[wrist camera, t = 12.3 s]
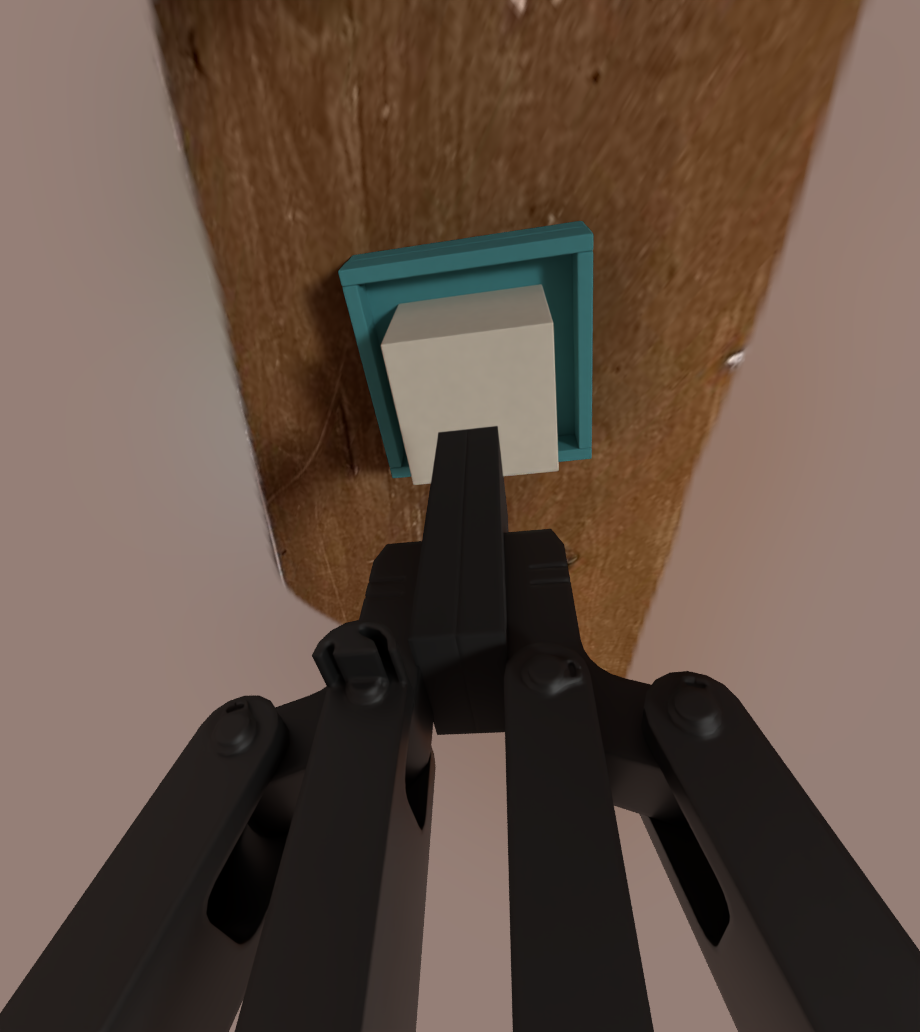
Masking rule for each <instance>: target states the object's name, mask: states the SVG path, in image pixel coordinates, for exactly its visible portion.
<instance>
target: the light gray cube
mask: <svg viewBox="0 0 920 1032" xmlns="http://www.w3.org/2000/svg"><path fill="white" fill-rule="evenodd" d="M381 349H382V354H383V358H384V362H385V366H386V371H387V375H388V379H389V383H390V387H391V392H392V396H393V400H394V404H395V409H396V413H397V417H398V421H399V425H400V430H401V434H402V438H403V442H404V447H405V451H406V455H407V459H408V463H409V468H410V472H411V476H412V480H413V484H414V485H418V484H428V483H431V479H432V472H433V465H434V459H435V452H436V445H437V438H438V432H446V431H455V430H464V429H474V428H483V427H492V426H498V433H499V442H500V451H501V460H502V469H503V476H511V475H522V474H532V473H542V472H553V471H558V470H559V467H558V438H557V410H556V382H555V354H554V326H553V321H552V317H551V314H550V311H549V307H548V304H547V301H546V297H545V294H544V290H543V287H542V285H541V284H539V285H532V286H525V287H518V288H510V289H503V290H496V291H489V292H481V293H474V294H467V295H460V296H452V297H445V298H438V299H431V300H423V301H416V302H409V303H402V304H398V306H397V309H396V311H395V313H394V316H393V318H392V320H391V323H390V325H389V327H388V329H387V332H386V334H385V336H384V339H383V341H382V343H381Z"/></svg>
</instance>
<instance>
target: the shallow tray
mask: <svg viewBox="0 0 920 1032" xmlns="http://www.w3.org/2000/svg"><path fill="white" fill-rule="evenodd" d="M592 250H593V233H592V232H591V230H590V229H589V228H588V227H587V226H586V225H585V224H584V223H583V221H577V222H570V223H564V224H557V225H550V226H544V227H537V228H530V229H524V230H517V231H511V232H504V233H497V234H491V235H484V236H478V237H471V238H464V239H458V240H451V241H445V242H438V243H431V244H425V245H418V246H412V247H405V248H398V249H392V250H385V251H378V252H372V253H365V254H359V255H353V256H352V257H351V258H350V259H349V260H348V261H347V262H346V263H345V264H344V265H343V266H342V267H341V268H340V270H339V271H338V274H339V278H340V281H341V285H342V286H343V292H344V296H345V300H346V304H347V308H348V311H349V315H350V319H351V323H352V326H353V330H354V334H355V338H356V342H357V345H358V349H359V353H360V357H361V361H362V364H363V368H364V372H365V376H366V379H367V383H368V387H369V391H370V395H371V398H372V402H373V406H374V410H375V413H376V417H377V421H378V425H379V429H380V432H381V436H382V440H383V444H384V448H385V451H386V455H387V459H388V463H389V466H390V470H391V474H392V477H393V478H400V477H410V476H411V472H410V468H409V463H408V459H407V455H406V451H405V447H404V442H403V438H402V434H401V430H400V425H399V421H398V417H397V413H396V409H395V404H394V400H393V396H392V392H391V387H390V383H389V379H388V375H387V371H386V366H385V362H384V358H383V354H382V349H381V343H382V341H383V339H384V336H385V334H386V332H387V329H388V327H389V325H390V323H391V320H392V318H393V316H394V313H395V311H396V309H397V306H398V304H402V303H409V302H416V301H423V300H431V299H438V298H445V297H452V296H460V295H467V294H474V293H481V292H489V291H496V290H503V289H510V288H518V287H525V286H532V285H539V284H541V285H542V287H543V290H544V294H545V297H546V301H547V304H548V307H549V311H550V314H551V317H552V321H553V326H554V354H555V382H556V410H557V438H558V462H562V461H572V460H582V459H591V457H592V448H591V446H592V331H593V251H592Z"/></svg>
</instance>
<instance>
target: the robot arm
mask: <svg viewBox="0 0 920 1032" xmlns="http://www.w3.org/2000/svg"><path fill="white" fill-rule="evenodd" d="M365 596H366V599H364V602H363V606H362V610H361V614H360V618H359V620H357V621H352V622H348V623H345V624H343V625H341V626H339V627H337V628H336V629H333V630H332V631H330V632H329V633H328V634H327V635H326V636H325V637H324V638H323V639H322V640H321V641H320V642H319V643H318V645H317V647H316V649H315V651H314V653H313V654H312V657H313V659H314V661H315V663H316V665H317V667H318V669H319V671H320V673H321V675H322V677H323V679H324V681H325V683H326V685H327V686H326V687H325V688H324V689H322V690H321V691H318V692H316V693H314V694H312V695H310V696H307V697H304V698H301V699H298V700H296V701H293V702H290V703H287V704H284V705H282V706H279V707H276V708H275V707H274V705H273V704H272V702H271V701H270V700H268V699H265V698H263V697H261V696H243V697H240V698H237V699H234V700H231V701H229V702H227V703H225V704H224V705H222V706H221V707H219V708H218V709H217V710H215V711H214V712H213V713H212V714H211V715H210V716H209V717H208V718H207V719H206V720H205V721H204V722H203V724H202V725H201V726H200V727H199V729H198V730H197V732H196V734H195V735H194V736H193V738H192V739H191V740H190V742H189V743H188V745H187V746H186V748H185V749H184V750H183V752H182V753H181V755H180V756H179V758H178V759H177V760H176V762H175V763H174V765H173V766H172V768H171V769H170V770H169V772H168V773H167V775H166V776H165V778H164V779H163V780H162V782H161V783H160V785H159V786H158V788H157V789H156V791H155V792H154V793H153V795H152V796H151V798H150V799H149V801H148V802H147V804H146V805H145V806H144V808H143V809H142V811H141V812H140V814H139V815H138V816H137V818H136V819H135V821H134V822H133V824H132V825H131V826H130V828H129V829H128V831H127V832H126V834H125V835H124V836H123V838H122V839H121V841H120V842H119V844H118V845H117V847H116V848H115V849H114V851H113V852H112V854H111V855H110V857H109V858H108V859H107V861H106V862H105V864H104V865H103V867H102V868H101V870H100V871H99V872H98V874H97V875H96V877H95V878H94V880H93V881H92V883H91V884H90V885H89V887H88V888H87V890H86V891H85V893H84V894H83V896H82V897H81V898H80V900H79V901H78V902H77V904H76V905H75V907H74V908H73V910H72V911H71V913H70V914H69V915H68V917H67V919H66V920H65V921H64V923H63V924H62V925H61V927H60V928H59V930H58V931H57V933H56V934H55V935H54V937H53V938H52V940H51V941H50V943H49V944H48V946H47V947H46V948H45V950H44V951H43V953H42V954H41V956H40V957H39V959H38V960H37V961H36V963H35V964H34V966H33V967H32V969H31V970H30V972H29V973H28V974H27V976H26V977H25V979H24V980H23V981H22V983H21V984H20V986H19V987H18V989H17V990H16V991H15V993H14V994H13V996H12V997H11V999H10V1000H9V1001H8V1003H7V1004H6V1006H5V1007H4V1009H3V1010H2V1012H1V1013H0V1032H229V1030H230V1027H231V1025H232V1023H233V1021H234V1019H235V1016H236V1014H237V1012H238V1010H239V1007H240V1005H241V1003H242V1001H243V1003H242V1007H241V1011H240V1014H239V1018H238V1022H237V1025H236V1029H235V1032H416V1021H417V1007H418V994H419V980H420V967H421V954H422V939H423V927H424V914H425V912H424V911H425V900H426V886H427V874H428V860H429V847H430V833H431V820H432V806H433V793H434V780H435V759H434V753H433V750H432V747H431V741H432V730H433V722H434V725H435V729H436V732H437V735H445V734H469V733H494V732H505V745H506V785H507V820H508V822H507V823H508V859H509V860H508V861H509V901H510V939H511V977H512V1013H513V1014H512V1017H513V1032H654V1030H653V1024H652V1018H651V1013H650V1007H649V1002H648V997H647V990H646V985H645V979H644V973H643V968H642V962H641V957H640V951H639V945H638V940H637V934H636V929H635V923H634V917H633V912H632V906H631V900H630V895H629V889H628V883H627V879H626V872H625V866H624V861H623V855H622V850H621V844H620V839H619V833H618V827H617V822H616V816H615V810H614V806H617V807H620V808H623V809H626V810H630V811H633V812H636V813H639V814H640V816H641V818H642V820H643V823H644V825H645V827H646V829H647V831H648V834H649V836H650V838H651V840H652V843H653V845H654V847H655V849H656V851H657V854H658V856H659V858H660V860H661V862H662V865H663V867H664V869H665V871H666V873H667V875H668V878H669V880H670V882H671V884H672V887H673V889H674V891H675V893H676V895H677V898H678V900H679V902H680V904H681V906H682V908H683V911H684V913H685V915H686V917H687V920H688V922H689V924H690V926H691V929H692V931H693V933H694V935H695V937H696V939H697V942H698V944H699V946H700V948H701V951H702V953H703V955H704V957H705V959H706V962H707V964H708V966H709V968H710V970H711V973H712V975H713V977H714V979H715V982H716V983H717V986H718V988H719V990H720V993H721V995H722V997H723V999H724V1001H725V1003H726V1006H727V1008H728V1010H729V1012H730V1015H731V1017H732V1019H733V1021H734V1023H735V1026H736V1028H737V1030H738V1032H920V951H919V949H918V948H917V947H916V945H915V944H914V942H913V941H912V940H911V938H910V937H909V935H908V934H907V933H906V931H905V930H904V929H903V927H902V926H901V924H900V923H899V921H898V920H897V919H896V918H895V916H894V915H893V913H892V912H891V910H890V909H889V908H888V906H887V905H886V903H885V902H884V901H883V899H882V898H881V896H880V895H879V894H878V892H877V891H876V890H875V888H874V887H873V885H872V884H871V883H870V881H869V880H868V878H867V877H866V876H865V874H864V873H863V871H862V870H861V869H860V867H859V866H858V864H857V863H856V862H855V860H854V859H853V858H852V856H851V855H850V853H849V852H848V851H847V849H846V848H845V846H844V845H843V844H842V842H841V841H840V840H839V838H838V837H837V835H836V834H835V833H834V831H833V830H832V829H831V827H830V826H829V824H828V823H827V821H826V820H825V819H824V817H823V816H822V814H821V813H820V812H819V810H818V809H817V808H816V806H815V805H814V803H813V802H812V801H811V799H810V798H809V796H808V795H807V794H806V792H805V791H804V789H803V788H802V787H801V785H800V784H799V782H798V781H797V780H796V778H795V777H794V776H793V774H792V773H791V771H790V770H789V769H788V767H787V766H786V764H785V763H784V762H783V760H782V759H781V757H780V756H779V755H778V753H777V752H776V751H775V749H774V748H773V746H772V745H771V744H770V742H769V741H768V740H767V738H766V737H765V735H764V734H763V732H762V731H761V730H760V728H759V727H758V726H757V724H756V723H755V721H754V720H753V719H752V717H751V716H750V714H749V713H748V712H747V710H746V709H745V707H744V706H743V705H742V703H741V702H740V700H739V699H738V698H737V697H736V696H735V695H734V694H733V693H732V692H731V691H730V690H729V689H728V688H727V687H726V686H725V685H723V684H722V683H720V682H718V681H716V680H714V679H712V678H711V677H708V676H707V675H702V674H698V673H693V672H689V671H684V672H673V673H669V674H666V675H664V676H662V677H660V678H658V679H656V680H655V681H654V682H653V684H652V685H650V684H646V683H642V682H638V681H633V680H629V679H625V678H622V677H619V676H616V675H613V674H610V673H609V672H607V671H605V670H603V669H602V668H600V667H599V666H598V665H596V664H595V663H594V662H593V661H592V660H591V659H590V658H589V656H588V655H587V653H586V652H585V650H584V648H583V645H582V642H581V639H580V634H579V628H578V622H577V616H576V611H575V605H574V599H573V593H572V588H571V582H570V576H569V571H568V566H567V559H566V553H565V548H564V544H563V543H562V541H561V540H560V539H559V538H558V537H557V535H556V534H555V533H554V532H553V531H552V529H543V530H531V531H519V532H508V514H507V504H506V495H505V487H504V478H503V469H502V460H501V451H500V442H499V433H498V426H492V427H483V428H474V429H464V430H455V431H446V432H438V438H437V445H436V452H435V459H434V465H433V472H432V479H431V486H430V492H429V499H428V506H427V513H426V519H425V526H424V533H423V540H422V541H418V542H407V543H395V544H387V545H386V546H385V547H384V549H383V550H382V551H381V552H380V554H379V555H378V556H377V558H376V559H375V560H374V562H373V566H372V570H371V574H370V578H369V583H368V586H367V590H366V594H365ZM243 998H244V999H243Z"/></svg>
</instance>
